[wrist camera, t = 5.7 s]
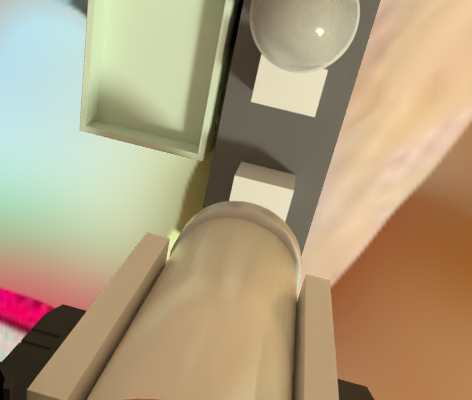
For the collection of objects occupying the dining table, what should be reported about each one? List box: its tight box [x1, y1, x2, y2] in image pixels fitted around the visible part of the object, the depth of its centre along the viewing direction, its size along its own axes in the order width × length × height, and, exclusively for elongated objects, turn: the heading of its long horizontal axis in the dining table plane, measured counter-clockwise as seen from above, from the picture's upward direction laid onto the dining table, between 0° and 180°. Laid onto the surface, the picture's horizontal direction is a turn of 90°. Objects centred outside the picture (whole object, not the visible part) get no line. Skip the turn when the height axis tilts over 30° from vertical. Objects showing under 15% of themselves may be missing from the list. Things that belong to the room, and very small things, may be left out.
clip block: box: [203, 0, 380, 255], centre depth 34 cm, size 9×26×6 cm, turn 168°
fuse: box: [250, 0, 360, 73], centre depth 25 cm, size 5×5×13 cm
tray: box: [80, 0, 240, 161], centre depth 35 cm, size 10×13×3 cm
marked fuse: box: [86, 201, 301, 400], centre depth 10 cm, size 5×5×13 cm
